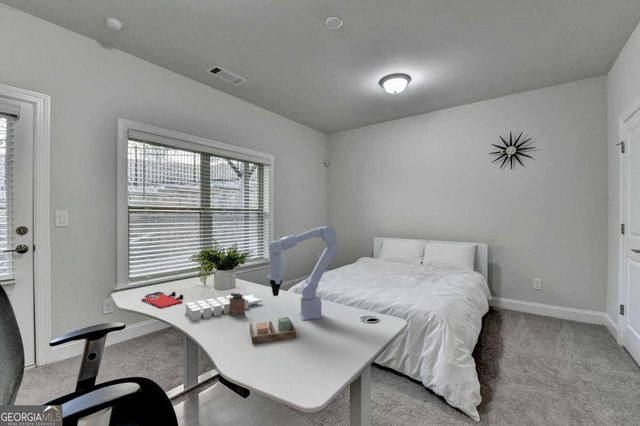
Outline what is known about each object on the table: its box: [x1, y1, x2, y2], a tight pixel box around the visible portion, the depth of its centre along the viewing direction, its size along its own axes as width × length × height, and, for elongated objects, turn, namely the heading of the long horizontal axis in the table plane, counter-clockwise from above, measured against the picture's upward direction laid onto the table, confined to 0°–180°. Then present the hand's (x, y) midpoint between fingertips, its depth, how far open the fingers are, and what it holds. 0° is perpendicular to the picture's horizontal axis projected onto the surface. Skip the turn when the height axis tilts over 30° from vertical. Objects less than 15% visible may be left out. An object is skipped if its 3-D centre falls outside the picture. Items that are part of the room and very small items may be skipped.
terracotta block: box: [256, 321, 270, 335], centre depth 111 cm, size 4×6×4 cm, turn 18°
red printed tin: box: [228, 292, 246, 316], centre depth 136 cm, size 8×3×10 cm, turn 74°
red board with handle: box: [140, 291, 184, 309], centre depth 158 cm, size 30×3×15 cm
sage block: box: [277, 316, 292, 332], centre depth 116 cm, size 4×4×5 cm
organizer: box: [185, 294, 263, 322], centre depth 143 cm, size 13×5×35 cm
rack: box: [249, 321, 298, 345], centre depth 114 cm, size 17×13×3 cm
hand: (275, 295), depth 131 cm, fingers closed
